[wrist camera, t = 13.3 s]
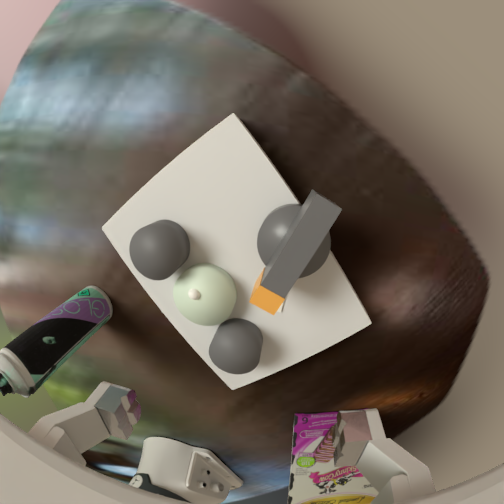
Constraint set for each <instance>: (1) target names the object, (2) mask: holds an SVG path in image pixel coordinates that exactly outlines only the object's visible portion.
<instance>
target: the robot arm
mask: <svg viewBox="0 0 504 504" xmlns="http://www.w3.org/2000/svg"><path fill="white" fill-rule="evenodd" d="M136 397H137V396H136V393H135V391H134V390H131V389H128V388H125V387H121V386H118V385H115V384H111V383H108V382H105V381H104V382H101V383H100V384H99V386H98V387H97V388H96V389H95V390H94V392H93V393H92V394H91V395H90V397H89V398H88V399H87V400H86V401H85V403H83V402H81V403H78V404H76V405H73V406H71V407H68V408H65V409H63V410H60V411H57V412H54V413H52V414H49V415H46V416H43V417H42V418H40V420H39V421H38V422H37V423H36V424H35V425H34V427H33V428H32V429H31V430H30V431H29V433H26V432H25V431H23V430H22V429H20V428H19V427H18V426H16V425H15V424H14V423H12V422H11V421H10V420H8V419H7V418H6V417H4V416H3V415H2V414H0V504H219V503H221V502H223V501H224V500H225V499H226V497H227V496H228V493H229V490H233V489H236V488H239V487H241V486H242V484H243V481H242V480H241V479H240V478H239V477H238V476H236V475H235V474H234V473H233V472H232V471H231V470H230V469H229V468H228V467H227V466H226V465H225V464H224V463H223V462H222V461H220V460H219V459H218V458H217V457H216V456H215V455H214V454H213V453H212V452H211V451H210V450H207V449H203V448H198V447H193V446H190V445H187V444H184V443H182V442H179V441H176V440H172V439H168V438H163V437H150V438H147V439H145V440H144V442H143V451H142V456H141V460H140V463H139V467H138V470H137V472H136V474H135V475H134V477H133V478H132V480H131V482H130V484H129V485H128V484H125V483H122V482H120V481H117V480H115V479H112V478H110V477H107V476H105V475H103V474H100V473H98V472H96V471H94V470H92V469H89V468H87V467H85V465H86V461H85V460H84V458H83V457H82V456H81V453H83V452H84V451H86V450H88V449H90V448H91V447H93V446H95V445H96V444H98V443H100V442H101V441H103V440H105V439H106V438H108V437H110V435H112V436H115V437H118V438H121V439H124V440H127V439H128V438H129V436H130V434H131V433H132V431H133V428H132V425H134V424H136V423H137V422H138V420H139V418H140V414H141V407H140V404H139V403H138V402H137V401H136V400H135V398H136ZM336 418H337V423H335V424H334V427H333V432H332V445H333V446H334V447H335V451H334V454H333V456H334V466H335V467H345V466H356V468H357V469H358V470H359V471H360V472H361V474H362V475H363V476H364V477H365V478H366V479H367V480H368V481H369V483H370V484H371V485H372V486H373V487H374V488H375V489H376V490H377V491H378V492H379V494H378V495H377V496H376V497H375V498H374V499H373V501H372V502H371V503H370V504H504V463H503V464H500V465H498V466H497V467H495V468H493V469H491V470H489V471H487V472H485V473H483V474H480V475H478V476H476V477H474V478H471V479H469V480H466V481H464V482H462V483H459V484H456V485H454V486H451V487H448V488H446V489H443V490H440V491H437V492H436V490H435V487H434V483H433V481H432V477H431V474H430V471H429V468H428V467H427V466H426V465H424V464H423V463H422V462H420V461H419V460H418V459H416V458H415V457H414V456H412V455H411V454H410V453H408V452H407V451H405V450H404V449H403V448H402V447H401V446H399V445H398V444H397V443H395V442H394V441H393V440H392V439H390V438H386V436H385V433H384V429H383V426H382V422H381V419H380V416H379V412H378V410H377V409H376V408H375V409H364V410H363V409H362V410H349V411H339V412H338V414H337V417H336Z"/></svg>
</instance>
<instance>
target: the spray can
mask: <svg viewBox="0 0 504 504" xmlns="http://www.w3.org/2000/svg"><path fill="white" fill-rule="evenodd" d="M112 313H113V309H112V304H111V301H110V299H109V298H108V296H107V295H106V294H105V292H104V291H103V290H101V289H100V288H98V287H96V286H88V287H86V288H85V289H83V290H82V291H80V292H79V293H77V294H76V295H74V296H73V297H71V298H70V299H69V300H67V301H66V302H64V303H63V304H61V305H60V306H59V307H57V308H56V309H54V310H53V311H52V312H50V313H49V314H47V315H46V316H45V317H43V318H42V319H41V320H39V321H38V322H36V323H35V324H34V325H32V326H31V327H30V328H28V329H27V330H26V331H24V332H23V333H22V334H21V335H19V336H18V337H17V338H15V339H14V340H13V341H12V342H10V343H9V344H8V345H7V346H5V347H4V348H3V349H1V351H0V392H1V393H2V394H3V396H5V395H6V394H7V393H12V394H15V393H18V394H20V395H22V396H24V397H29V396H30V395H31V394H34V393H35V391H36V390H37V389H38V388H39V387H40V386H41V385H42V384H43V383H44V382H45V381H46V380H47V379H48V378H49V377H50V376H51V375H52V374H53V373H54V372H55V371H56V370H57V369H58V368H59V367H60V366H61V365H62V364H63V363H64V362H65V361H66V360H67V359H68V358H69V357H70V356H71V355H72V354H73V353H74V352H75V351H76V350H78V349H79V348H80V347H81V346H82V345H83V344H84V343H85V342H86V341H87V340H88V339H89V338H90V337H91V336H92V335H93V334H94V333H95V332H96V331H97V330H99V329H100V328H101V327H102V326H103V325H104V324H105V323H106V322H107V321H108V320H109V319H110V318H111V316H112Z"/></svg>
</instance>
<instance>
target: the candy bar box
mask: <svg viewBox="0 0 504 504" xmlns="http://www.w3.org/2000/svg"><path fill="white" fill-rule="evenodd" d="M367 409H368V408H367ZM359 410H362V409H359ZM363 410H364V409H363ZM337 414H338V412H325V413H301V414H295V416H294V427H293V442H292V457H291V470H290V482H289V493H288V503H287V504H370V503H371V502H372V501H373V499H374V498H375V497H376V496H377V495H378V494H379V492H378V491H377V490H376V489H375V488H374V487H373V486H372V485H371V484H370V483H369V481H368V480H367V479H366V478H365V477H364V476H363V475H362V474H361V472H360V471H359V470H358V469H357V468H356V466H345V467H335V466H334V456H333V454H334V451H335V447H334V446H333V445H332V432H333V427H334V424H335V423H337V418H336V417H337Z"/></svg>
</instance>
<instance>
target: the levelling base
mask: <svg viewBox="0 0 504 504" xmlns="http://www.w3.org/2000/svg"><path fill="white" fill-rule="evenodd" d="M286 204H300V202H299V201H298V199H297V198H296V196H295V195H294V193H293V192H292V190H291V189H290V187H289V186H288V184H287V183H286V182H285V180H284V179H283V177H282V176H281V174H280V173H279V172H278V170H277V169H276V167H275V166H274V164H273V163H272V162H271V160H270V159H269V157H268V156H267V155H266V153H265V152H264V151H263V149H262V148H261V146H260V145H259V144H258V142H257V141H256V140H255V138H254V137H253V136H252V134H251V133H250V132H249V130H248V129H247V128H246V126H245V125H244V124H243V122H242V121H241V120H240V119H239V118H238V117H237V116H236V115H235V114H234V113H233V114H231V115H230V116H229V117H227V118H226V119H224V120H223V121H222V122H220V123H219V124H218V125H216V126H215V127H214V128H212V129H211V130H210V131H208V132H207V133H206V134H205V135H203V136H202V137H201V138H199V139H198V140H197V141H196V142H194V143H193V144H192V145H191V146H189V147H188V148H187V149H186V150H185V151H183V152H182V153H181V154H180V155H178V156H177V157H176V158H175V159H174V160H173V161H171V162H170V163H169V164H168V165H167V166H166V167H164V168H163V169H162V170H161V171H160V172H159V173H158V174H156V175H155V176H154V177H153V178H152V179H151V180H150V181H149V182H148V183H147V184H145V185H144V186H143V187H142V188H141V189H140V190H139V191H138V192H137V193H136V194H135V195H134V196H133V197H132V198H131V199H130V200H129V201H128V202H126V203H125V204H124V205H123V206H122V207H121V208H120V209H119V210H118V211H117V212H116V213H115V214H114V215H113V216H112V217H111V219H110V220H109V221H108V222H107V223H106V224H105V225H104V226H103V227H102V229H103V231H104V232H105V234H106V236H107V237H108V239H109V240H110V242H111V243H112V244H113V246H114V247H115V249H116V250H117V252H118V253H119V255H120V256H121V258H122V259H123V260H124V262H125V263H126V265H127V266H128V267H129V269H130V270H131V272H132V273H133V274H134V276H135V277H136V278H137V280H138V281H139V282H140V284H141V285H142V286H143V288H144V289H145V290H146V292H147V293H148V294H149V296H150V297H151V298H152V299H153V301H154V302H155V303H156V305H157V306H158V307H159V308H160V310H161V311H162V312H163V313H164V315H165V316H166V317H167V318H168V319H169V321H170V322H171V323H172V324H173V325H174V327H175V328H176V329H177V330H178V331H179V333H180V334H181V335H182V336H183V337H184V338H185V340H186V341H187V342H188V343H189V344H190V345H191V346H192V348H193V349H194V350H195V351H196V352H197V353H198V354H199V355H200V357H201V358H202V359H203V360H204V361H205V362H206V363H207V364H208V365H209V366H210V367H211V369H212V370H213V371H214V372H215V373H216V374H217V375H218V376H219V377H220V378H221V379H222V380H223V381H224V382H225V383H226V384H227V385H228V386H229V387H230V388H231V389H232V390H234V389H237V388H239V387H242V386H244V385H247V384H249V383H252V382H254V381H257V380H259V379H262V378H264V377H266V376H269V375H271V374H273V373H276V372H278V371H280V370H282V369H285V368H287V367H289V366H291V365H293V364H296V363H298V362H300V361H302V360H304V359H306V358H308V357H310V356H312V355H314V354H316V353H318V352H320V351H322V350H324V349H326V348H328V347H330V346H332V345H334V344H336V343H338V342H340V341H341V340H343V339H345V338H347V337H349V336H351V335H352V334H354V333H356V332H358V331H360V330H361V329H363V328H365V327H367V326H368V325H370V324H372V323H371V320H370V318H369V316H368V314H367V312H366V310H365V308H364V306H363V304H362V302H361V301H360V299H359V297H358V295H357V294H356V292H355V290H354V288H353V287H352V285H351V283H350V282H349V280H348V278H347V277H346V275H345V273H344V272H343V270H342V268H341V267H340V265H339V263H338V262H337V260H336V258H335V257H334V255H333V253H332V252H331V250H330V252H329V255H328V258H327V260H326V261H325V263H324V264H323V265H322V267H321V268H320V269H319V270H317V271H316V272H314V273H313V274H311V275H309V276H306V277H303V278H298V279H297V281H296V282H295V284H294V285H293V287H292V288H291V290H290V291H289V293H288V294H287V296H286V297H285V300H284V301H283V303H282V304H281V306H280V307H279V309H278V310H277V312H276V313H275V314H274V315H272V314H270V313H268V312H266V311H265V310H263V309H261V308H259V307H257V306H255V305H253V304H252V303H250V302H249V301H250V297H251V294H252V291H253V288H254V285H255V282H256V280H257V279H258V277H259V275H260V274H261V272H262V271H263V269H264V267H266V266H265V264H264V263H263V262H262V260H261V258H260V256H259V253H258V249H257V237H258V232H259V229H260V227H261V225H262V223H263V221H264V220H265V218H266V217H267V216H268V214H269V213H270V212H272V211H273V210H274V209H276V208H278V207H280V206H282V205H286Z"/></svg>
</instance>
